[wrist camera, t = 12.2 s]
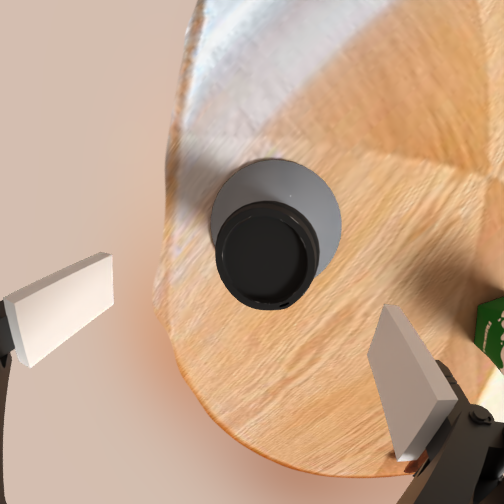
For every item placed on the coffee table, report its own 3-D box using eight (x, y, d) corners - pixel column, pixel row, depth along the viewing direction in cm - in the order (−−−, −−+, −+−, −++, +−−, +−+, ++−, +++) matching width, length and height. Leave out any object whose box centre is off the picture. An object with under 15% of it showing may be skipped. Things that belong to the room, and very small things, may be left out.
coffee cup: (261, 271, 38) (238, 329, 23) (231, 210, 36) (187, 233, 22) (323, 245, 36) (339, 290, 21) (294, 180, 34) (292, 182, 20)
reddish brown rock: (396, 476, 41) (427, 492, 31) (398, 443, 43) (431, 456, 33) (439, 452, 43) (470, 462, 34) (441, 421, 46) (474, 428, 36)
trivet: (220, 152, 35) (219, 152, 35) (350, 172, 34) (351, 172, 33) (206, 275, 39) (205, 277, 39) (326, 297, 38) (327, 298, 37)
